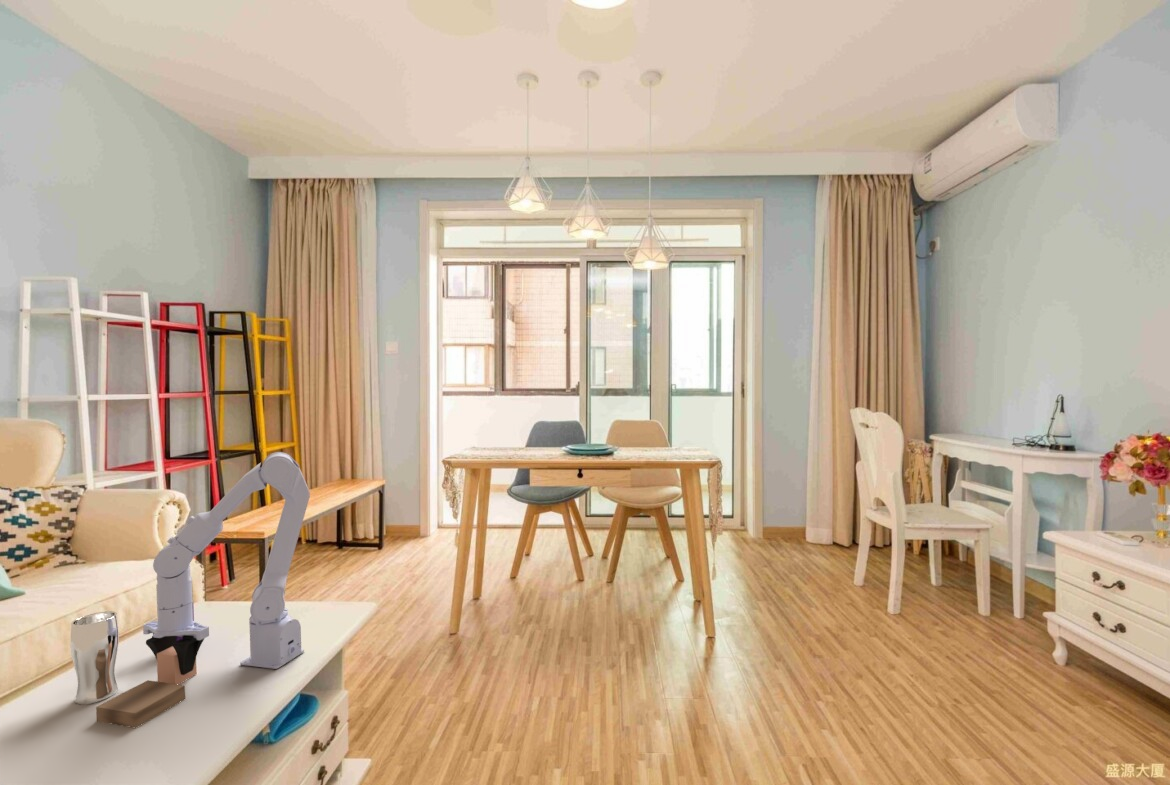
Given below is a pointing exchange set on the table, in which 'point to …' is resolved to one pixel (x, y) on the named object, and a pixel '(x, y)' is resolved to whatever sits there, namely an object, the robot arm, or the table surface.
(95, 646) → the beer glass
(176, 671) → the terracotta block
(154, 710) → the walnut base
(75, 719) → the table surface
